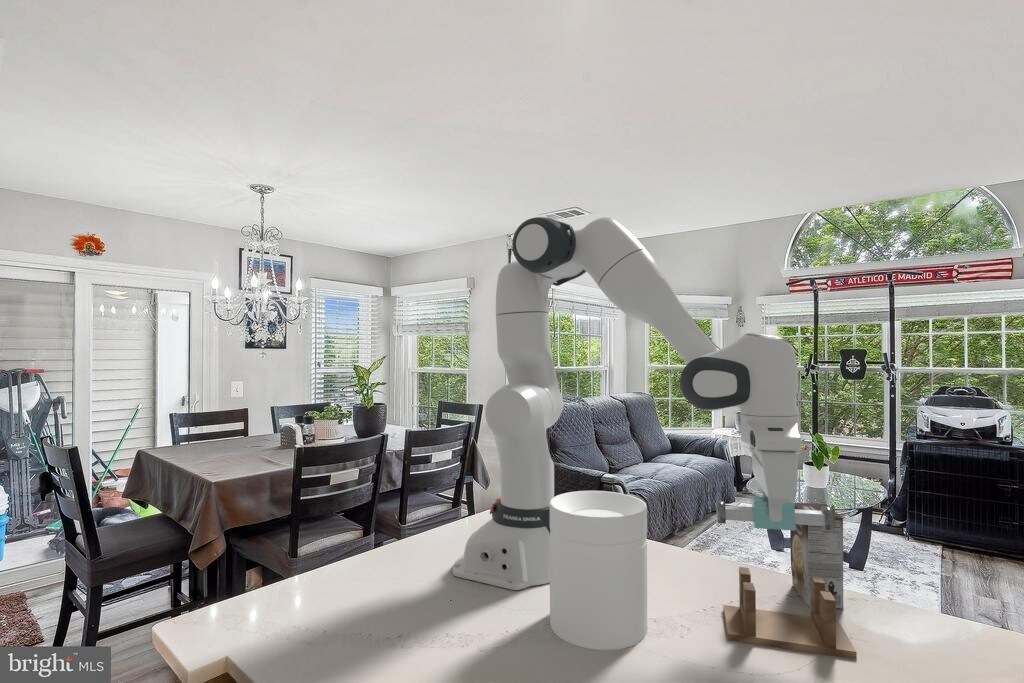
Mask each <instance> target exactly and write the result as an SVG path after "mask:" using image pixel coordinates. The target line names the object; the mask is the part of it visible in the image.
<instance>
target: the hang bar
mask: <svg viewBox="0 0 1024 683" xmlns="http://www.w3.org/2000/svg"><path fill="white" fill-rule="evenodd" d="M795 503H796V502H795V501H794V502H793V503H783V507H782V520H781V521H779V522H778V521H771V520H770V519H769V516H768V498H767V497H763V496H759V495H757V496H756V495H753V496H751V506H743V505H742V506H741V505H739V506H738V505H726V502H725V501H723V500H722V501H721V500H718V501H717V500H716V503H715V504H716V506H715V507H716V520H717V524H723V525H726V522H727V521H736V522H737V521H738V522H752V524H753V527H754V529H762V530H763V529H765V530H779V531H780V530H781V531H792V530H793V531H796V526H795V524H800V525H816V526H823V528H824V530H830V531H834V530H835V515H834V511H835V510H834V509H833V507H832V506H829V507H822V508H821V511H817V510H799V509H795ZM833 510H834V511H833Z"/></svg>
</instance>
